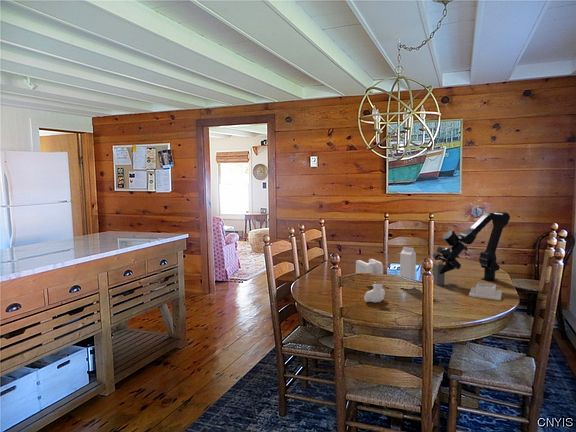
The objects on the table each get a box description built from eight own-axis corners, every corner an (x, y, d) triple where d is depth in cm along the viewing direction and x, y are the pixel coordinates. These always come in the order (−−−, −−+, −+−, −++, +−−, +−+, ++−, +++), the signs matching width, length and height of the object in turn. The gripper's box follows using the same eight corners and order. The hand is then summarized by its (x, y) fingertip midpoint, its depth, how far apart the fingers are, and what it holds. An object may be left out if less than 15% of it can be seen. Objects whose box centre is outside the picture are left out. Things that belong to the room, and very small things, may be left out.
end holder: (471, 289, 214) (472, 280, 214) (501, 292, 208) (502, 283, 207) (468, 296, 202) (469, 286, 202) (500, 300, 195) (501, 290, 195)
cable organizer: (383, 284, 225) (384, 263, 224) (366, 285, 223) (366, 264, 221) (371, 277, 240) (371, 258, 239) (354, 278, 237) (354, 259, 236)
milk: (404, 285, 221) (405, 245, 219) (415, 288, 217) (416, 247, 215) (399, 288, 217) (400, 247, 215) (410, 290, 213) (411, 248, 211)
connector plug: (439, 282, 228) (440, 259, 226) (444, 284, 223) (445, 261, 222) (432, 283, 227) (433, 260, 225) (437, 285, 222) (437, 261, 221)
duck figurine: (366, 308, 192) (376, 293, 185) (358, 295, 197) (367, 280, 190) (385, 304, 198) (396, 289, 191) (376, 291, 203) (387, 277, 196)
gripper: (435, 239, 233) (418, 259, 231) (456, 244, 215) (437, 266, 213) (447, 251, 235) (430, 271, 234) (469, 258, 217) (450, 280, 216)
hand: (436, 272), depth 224 cm, fingers open, 6 cm apart
